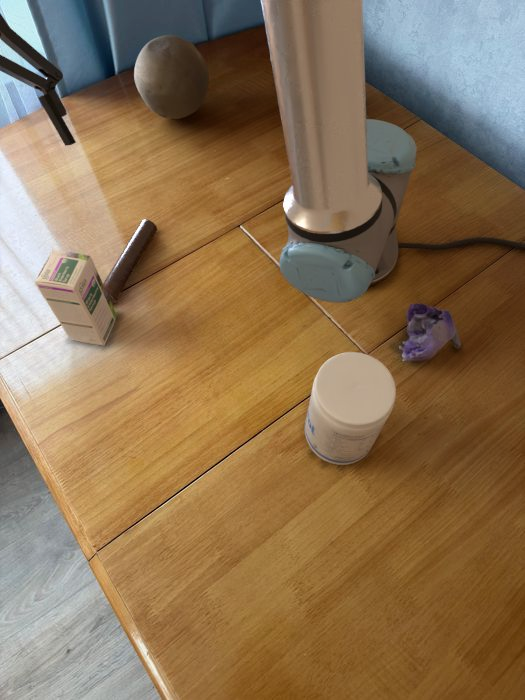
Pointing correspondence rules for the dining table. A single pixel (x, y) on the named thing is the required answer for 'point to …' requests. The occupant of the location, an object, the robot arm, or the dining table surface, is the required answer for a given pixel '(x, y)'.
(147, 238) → the walnut baton
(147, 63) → the cantaloupe
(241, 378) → the dining table surface
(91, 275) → the syrup box
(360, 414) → the supplement tub
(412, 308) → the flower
